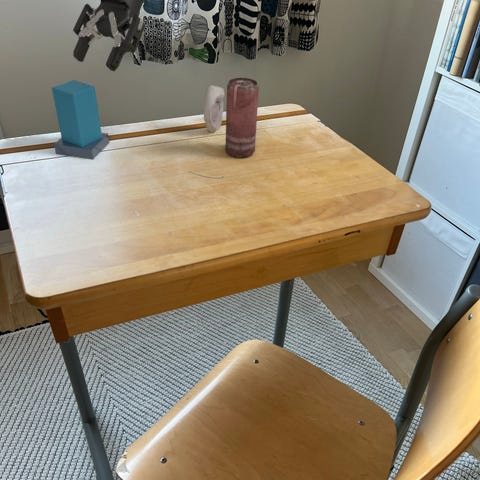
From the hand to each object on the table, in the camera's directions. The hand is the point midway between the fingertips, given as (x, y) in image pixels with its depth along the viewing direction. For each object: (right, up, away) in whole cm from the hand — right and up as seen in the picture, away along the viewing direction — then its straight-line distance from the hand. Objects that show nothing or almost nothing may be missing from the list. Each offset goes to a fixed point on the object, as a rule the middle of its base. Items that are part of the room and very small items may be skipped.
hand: (93, 64), depth 98 cm
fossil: (+22, -8, +15) cm, 28 cm away
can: (+28, -15, +8) cm, 33 cm away
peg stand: (-4, -14, +6) cm, 16 cm away
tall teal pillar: (-4, -13, +5) cm, 14 cm away
